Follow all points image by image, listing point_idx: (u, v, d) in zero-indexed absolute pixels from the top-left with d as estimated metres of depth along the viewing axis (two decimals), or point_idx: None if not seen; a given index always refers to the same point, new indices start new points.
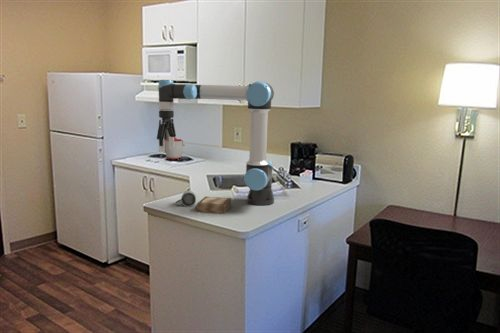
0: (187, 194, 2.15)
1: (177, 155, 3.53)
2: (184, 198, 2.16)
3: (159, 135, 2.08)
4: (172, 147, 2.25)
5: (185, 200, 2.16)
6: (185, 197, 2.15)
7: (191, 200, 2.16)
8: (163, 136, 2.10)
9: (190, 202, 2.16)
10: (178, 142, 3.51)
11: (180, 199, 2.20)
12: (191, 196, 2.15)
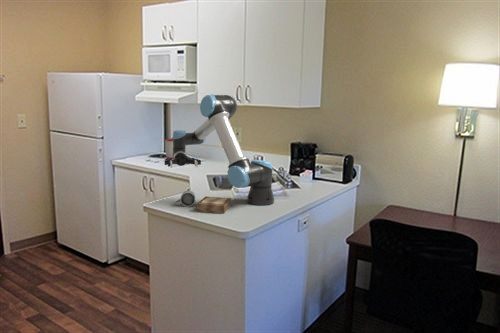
0: (186, 194, 2.15)
1: None
2: (183, 198, 2.15)
3: None
4: (196, 163, 2.26)
5: (184, 200, 2.16)
6: (184, 197, 2.15)
7: (190, 200, 2.16)
8: (169, 160, 2.29)
9: (189, 202, 2.16)
10: None
11: (179, 199, 2.20)
12: (190, 196, 2.15)
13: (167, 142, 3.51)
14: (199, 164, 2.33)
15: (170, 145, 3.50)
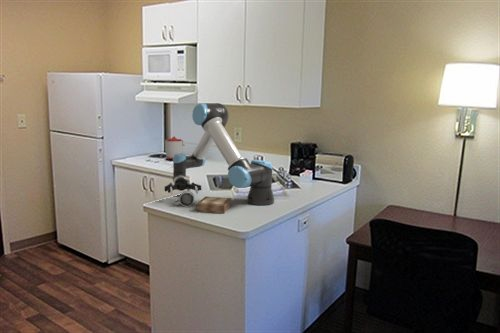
0: (185, 194, 2.15)
1: None
2: (182, 198, 2.15)
3: None
4: (196, 189, 2.24)
5: (183, 200, 2.15)
6: (183, 197, 2.15)
7: (189, 200, 2.16)
8: (169, 186, 2.28)
9: (188, 202, 2.16)
10: (178, 142, 3.51)
11: (178, 199, 2.20)
12: (189, 196, 2.15)
13: (167, 142, 3.51)
14: None
15: (170, 145, 3.50)
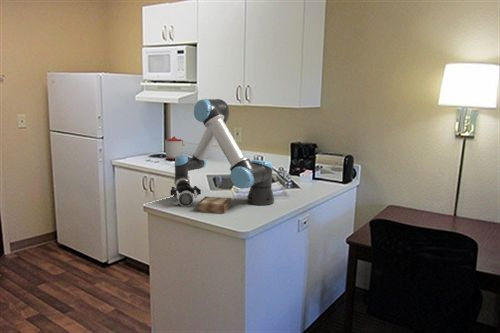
0: (184, 194, 2.15)
1: (177, 155, 3.53)
2: (181, 198, 2.15)
3: None
4: (195, 193, 2.14)
5: (182, 200, 2.15)
6: (182, 197, 2.15)
7: (188, 200, 2.16)
8: (175, 190, 2.19)
9: (187, 202, 2.16)
10: (178, 142, 3.51)
11: (177, 199, 2.20)
12: (188, 196, 2.15)
13: (167, 142, 3.51)
14: None
15: (170, 145, 3.50)
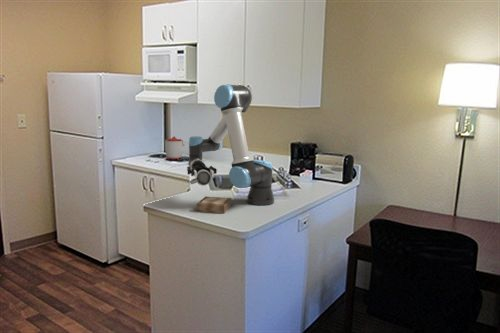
0: (202, 172, 2.10)
1: (177, 155, 3.53)
2: (199, 177, 2.11)
3: None
4: (211, 172, 2.10)
5: (200, 179, 2.11)
6: (200, 176, 2.10)
7: (206, 179, 2.11)
8: (192, 169, 2.14)
9: (205, 181, 2.11)
10: (178, 142, 3.51)
11: None
12: (206, 175, 2.11)
13: (167, 142, 3.51)
14: (214, 173, 2.17)
15: (170, 145, 3.50)
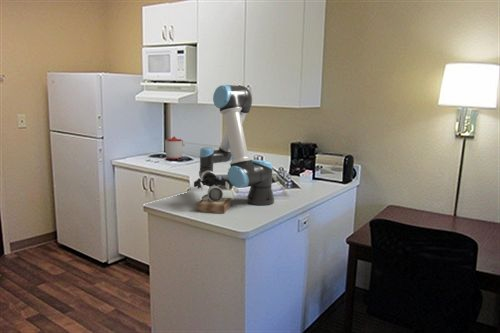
0: (214, 189, 2.09)
1: (177, 155, 3.53)
2: (211, 193, 2.09)
3: None
4: (227, 185, 2.10)
5: (212, 195, 2.09)
6: (212, 192, 2.09)
7: (218, 195, 2.10)
8: (199, 181, 2.13)
9: (217, 197, 2.10)
10: (178, 142, 3.51)
11: None
12: (218, 191, 2.09)
13: (167, 142, 3.51)
14: (230, 185, 2.17)
15: (170, 145, 3.50)
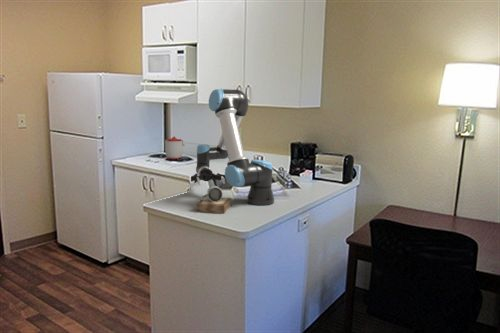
0: (213, 189, 2.09)
1: (177, 155, 3.53)
2: (210, 193, 2.09)
3: None
4: (223, 179, 2.22)
5: (211, 195, 2.09)
6: (211, 192, 2.09)
7: (217, 195, 2.10)
8: (195, 176, 2.25)
9: (216, 197, 2.10)
10: (178, 142, 3.51)
11: None
12: (217, 191, 2.09)
13: (167, 142, 3.51)
14: (225, 180, 2.29)
15: (170, 145, 3.50)
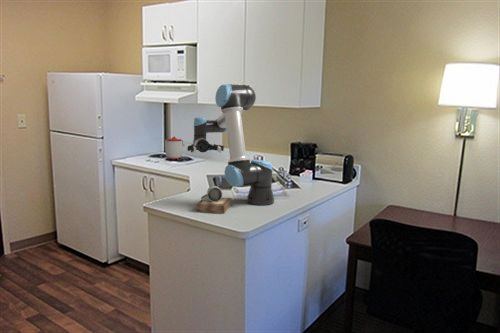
0: (213, 189, 2.09)
1: (177, 155, 3.53)
2: (210, 193, 2.09)
3: None
4: (219, 148, 2.25)
5: (211, 195, 2.09)
6: (211, 192, 2.09)
7: (217, 195, 2.10)
8: (192, 146, 2.28)
9: (216, 197, 2.10)
10: (178, 142, 3.51)
11: None
12: (217, 191, 2.09)
13: (167, 142, 3.51)
14: (222, 150, 2.32)
15: (170, 145, 3.50)
